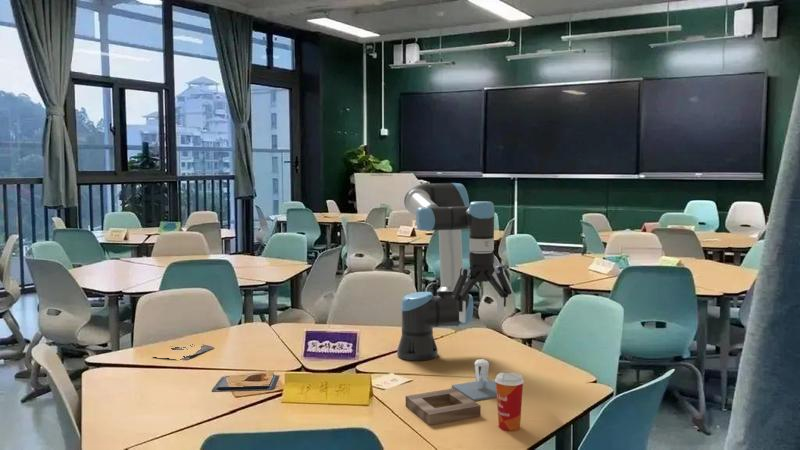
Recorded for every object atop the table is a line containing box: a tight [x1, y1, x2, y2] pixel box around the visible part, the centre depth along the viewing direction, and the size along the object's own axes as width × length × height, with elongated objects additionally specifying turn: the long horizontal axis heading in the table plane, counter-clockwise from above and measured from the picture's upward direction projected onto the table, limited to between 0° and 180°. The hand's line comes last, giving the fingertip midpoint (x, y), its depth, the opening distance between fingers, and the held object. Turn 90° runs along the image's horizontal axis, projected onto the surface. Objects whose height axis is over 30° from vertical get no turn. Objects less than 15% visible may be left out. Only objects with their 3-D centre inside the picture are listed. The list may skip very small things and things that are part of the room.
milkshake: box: [474, 358, 491, 390], centre depth 200 cm, size 4×5×10 cm
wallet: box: [211, 374, 281, 393], centre depth 210 cm, size 20×2×15 cm
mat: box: [451, 378, 497, 402], centre depth 200 cm, size 14×14×1 cm
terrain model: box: [171, 344, 216, 361], centre depth 248 cm, size 20×15×3 cm
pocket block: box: [405, 387, 482, 426], centre depth 183 cm, size 16×16×3 cm
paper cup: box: [494, 371, 525, 432], centre depth 171 cm, size 8×8×14 cm
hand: (481, 319), depth 198 cm, fingers open, 13 cm apart
